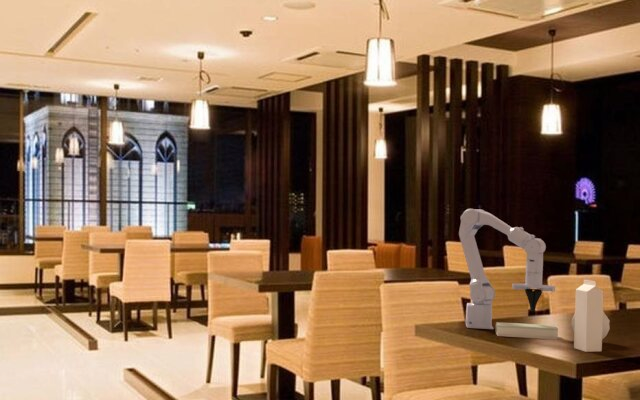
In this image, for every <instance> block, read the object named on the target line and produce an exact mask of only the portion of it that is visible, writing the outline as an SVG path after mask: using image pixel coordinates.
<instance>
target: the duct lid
mask: <svg viewBox="0 0 640 400" xmlns="http://www.w3.org/2000/svg"><path fill="white" fill-rule="evenodd" d="M496 325H497V327H503V328H521V329H539V330H556V331H558V332H559V328H558V327H557V326H555V324H553V325H552V324H551V325H550V324H538V323H536V324H534V323H520V322H519V323H517V322H500V321H499V322H498V321H496V322H495V326H496Z"/></svg>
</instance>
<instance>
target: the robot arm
mask: <svg viewBox="0 0 640 400" xmlns="http://www.w3.org/2000/svg"><path fill="white" fill-rule="evenodd" d="M485 225H486V226H490V227H492V228H493V229H495V230H497V231H499V232H501V233H503V234H505V235H506V236H507V239H508V241H509V242H511V243H513V244H515V245H516V246H518V247H519V248H521V249H523V250H524V251H525V253H526V258H525V259H526V260H525V261H526V263H525V280H524V281H525V283H514V282H513V283H512V285H511V290H522V291H523V290H524V292H525V294H526V297H527V300H528V304H529V311H530V312H535V311H536V307H537V305H538V302H539V299H540V298H541V296H542V293H543V291H544V292H553V293H554V292H556V286H555V285H548V284H543V274H544V273H543V271H544V268H543V267H544V252H545V251H546V248H547V246H546V243H545V242H544V240H542V238H538V237H536V235H534V234H530V233H528V232H527V231H525V230H524V229H525V228H523V226H520V227H518V226H515V227H512V226H510V225H508V224H507V223H506V222H504V221H503V220H501V219H499V218H498V217H497V216H495V215H494V214H492V213H490V212H488V211H485V210H484V209H483V208H482V209H481V208H479V209H474V208H467V209H466V210H464V211H463V213H462V214H461V215H460V225H459V231H458V236H459V241H460V243H461V246H462V251H463V254H464V258H465V262H466V265H467V269H468V272H469V276H470V282H469V288H470V291H469V297H470V299H471V301H472V302H467V303H466V311H465V321H464V322H465V326H466V328H467V329H480V330H481V329H482V330H494V326H493V325H492V321H493V320H492V319H493V300H494V298H495V297H496V291H495V288H494V287H493V286H492V285H491V282H490V280H489V278H488V277H487V275H486V272H485V270H484V269H485V268H484V266H483V262H482V259H481V255H480V252H479V248H478V245H477V241H476V238H475V235H476V234H477V232H478V230H479V229H481V227H483V226H485Z"/></svg>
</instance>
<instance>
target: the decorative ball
mask: <svg viewBox="0 0 640 400" xmlns="http://www.w3.org/2000/svg"><path fill="white" fill-rule="evenodd" d="M610 322H611V321H610V319H609V318H608V316H607V315H606V314H605V311H604V310H603V323H602V340H603V339H605V337H606V336H607V335H608V333H609V331H610ZM570 324H571V329H572V332H573V333H574V332H575V313H574V314H573V316H572V318H571V322H570Z"/></svg>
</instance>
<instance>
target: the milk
mask: <svg viewBox="0 0 640 400" xmlns="http://www.w3.org/2000/svg"><path fill="white" fill-rule="evenodd" d="M574 299H575V301H574V302H575V304H574V305H575V307H574V314H575V332H573V334H574V335H573V336H574V337H573V338H574V339H573V349H574V350H575V349H576V350H579V351H582V352H586V353H588V352H591V353H593V352H602V350H603V339H602V323H603V311H604V291H603V290H602V289H601V288H599V287H598V286H597V282H596V281H595V280H591V279H590V280H589V279H583V284H581V285H580V286H578V287H577V288H576V289H575V298H574Z"/></svg>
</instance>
